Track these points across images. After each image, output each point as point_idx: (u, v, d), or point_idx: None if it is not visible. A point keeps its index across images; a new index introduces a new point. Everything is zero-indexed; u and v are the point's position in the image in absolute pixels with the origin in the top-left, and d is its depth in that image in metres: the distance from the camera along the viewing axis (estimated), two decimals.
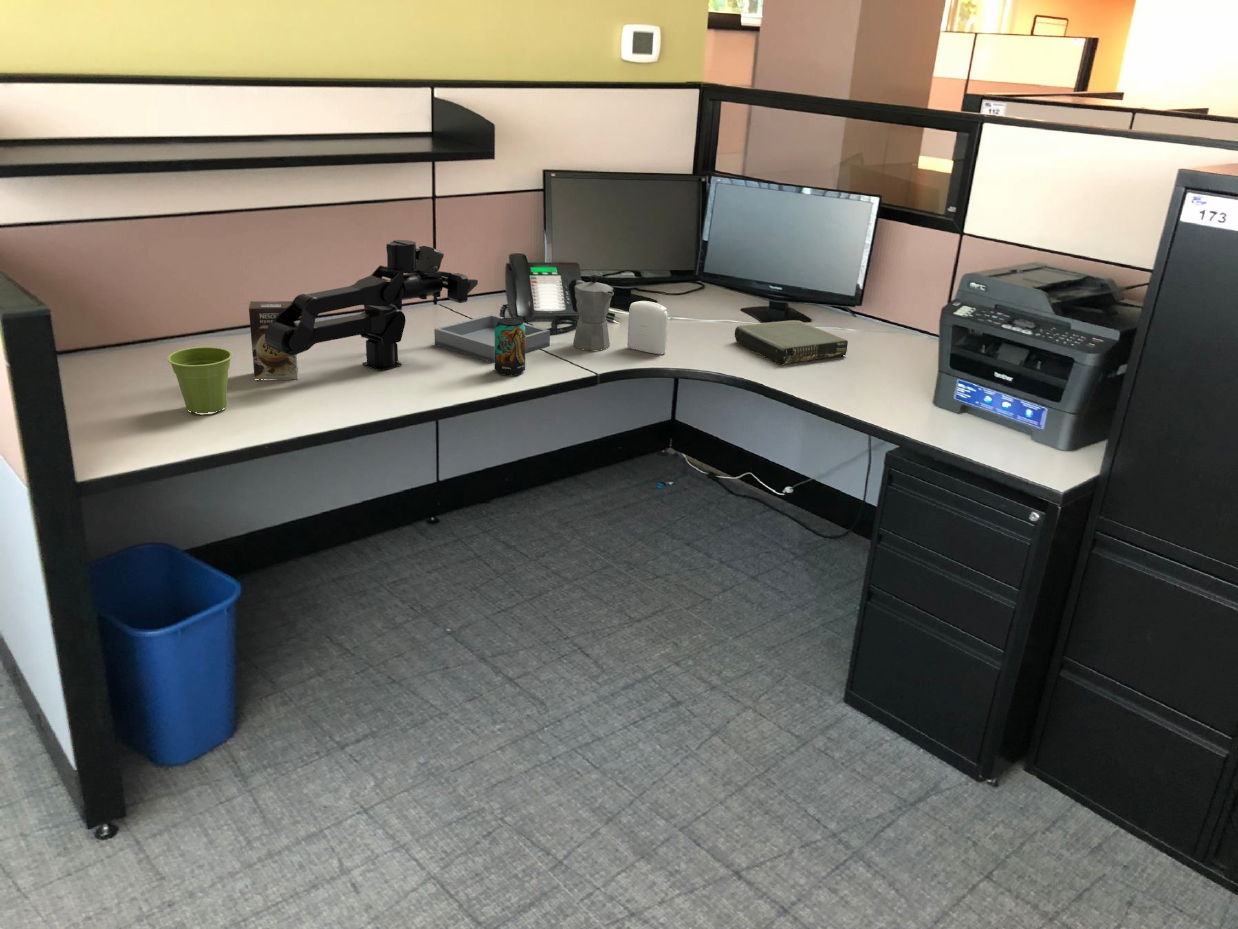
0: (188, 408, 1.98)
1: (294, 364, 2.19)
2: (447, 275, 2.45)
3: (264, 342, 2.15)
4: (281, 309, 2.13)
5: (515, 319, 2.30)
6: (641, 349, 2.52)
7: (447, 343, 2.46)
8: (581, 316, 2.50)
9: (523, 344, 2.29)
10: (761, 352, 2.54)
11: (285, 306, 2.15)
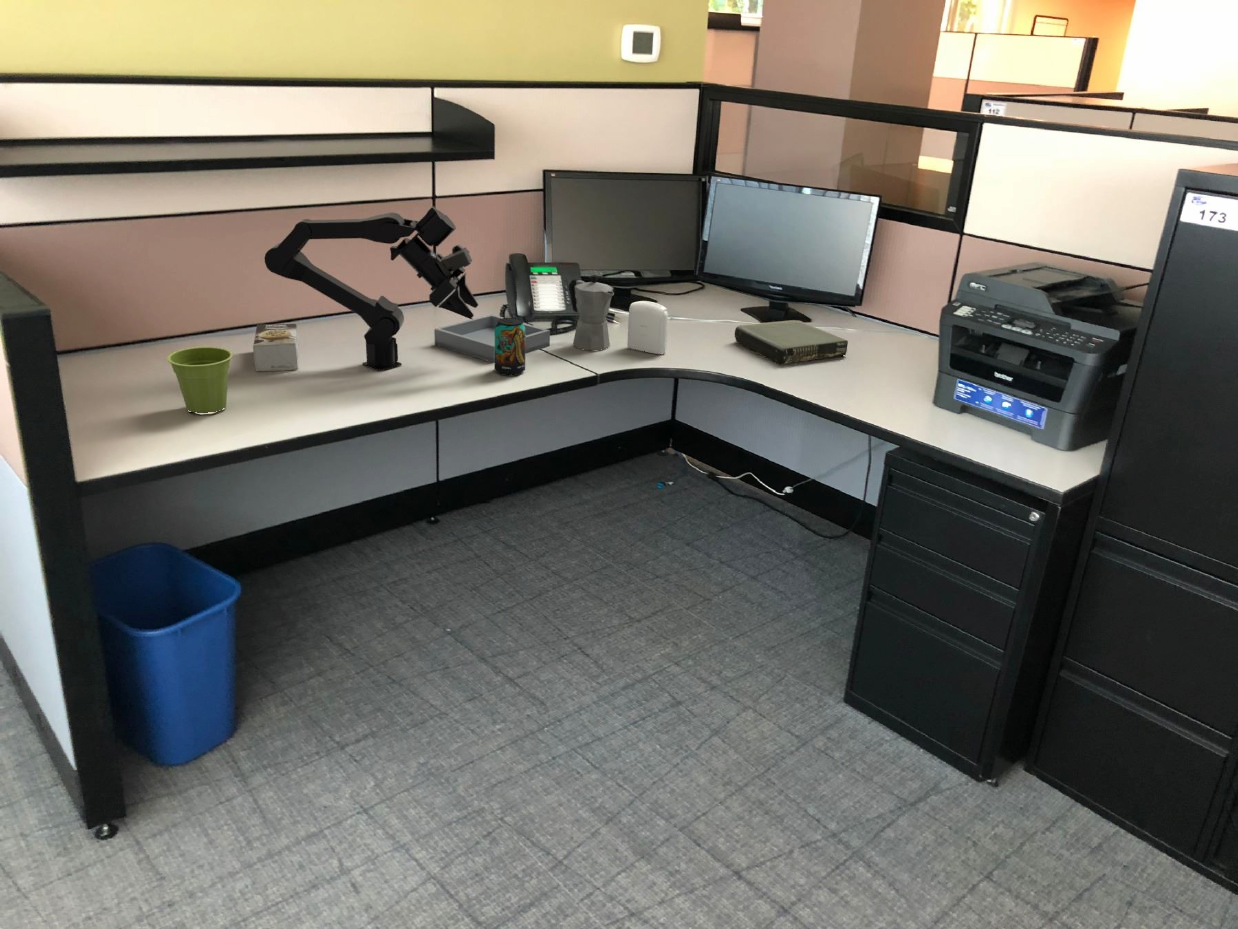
0: (188, 408, 1.98)
1: (293, 338, 2.26)
2: (472, 302, 2.31)
3: (267, 332, 2.29)
4: (286, 324, 2.36)
5: (515, 319, 2.30)
6: (641, 349, 2.52)
7: (447, 343, 2.46)
8: (581, 316, 2.50)
9: (523, 344, 2.29)
10: (761, 352, 2.54)
11: None
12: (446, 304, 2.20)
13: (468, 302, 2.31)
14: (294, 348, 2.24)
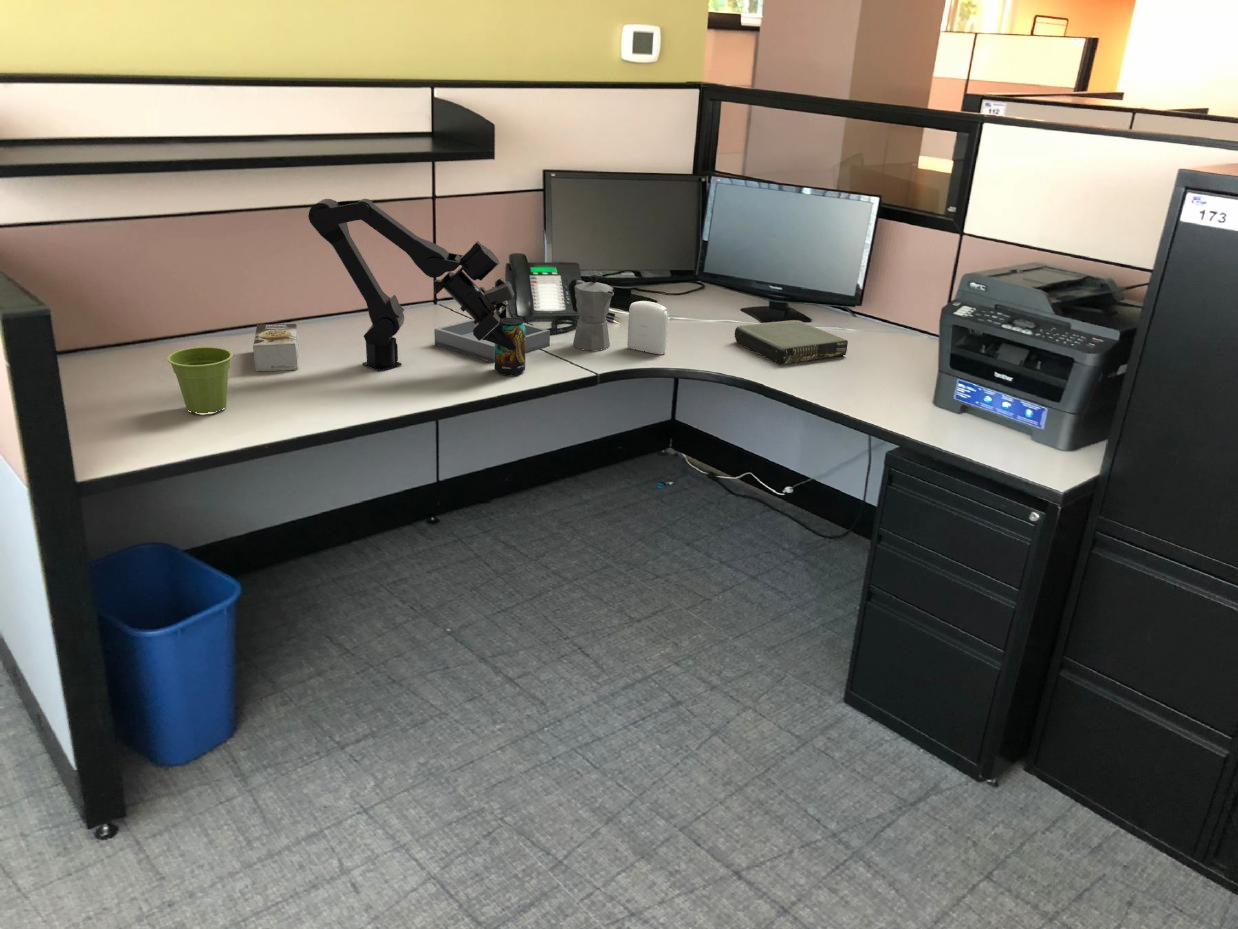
0: (188, 408, 1.98)
1: (293, 338, 2.26)
2: None
3: (267, 332, 2.29)
4: (286, 324, 2.36)
5: (515, 319, 2.30)
6: (641, 349, 2.52)
7: (447, 343, 2.46)
8: (581, 316, 2.50)
9: (523, 344, 2.29)
10: (761, 352, 2.54)
11: None
12: (490, 336, 2.24)
13: None
14: (294, 348, 2.24)
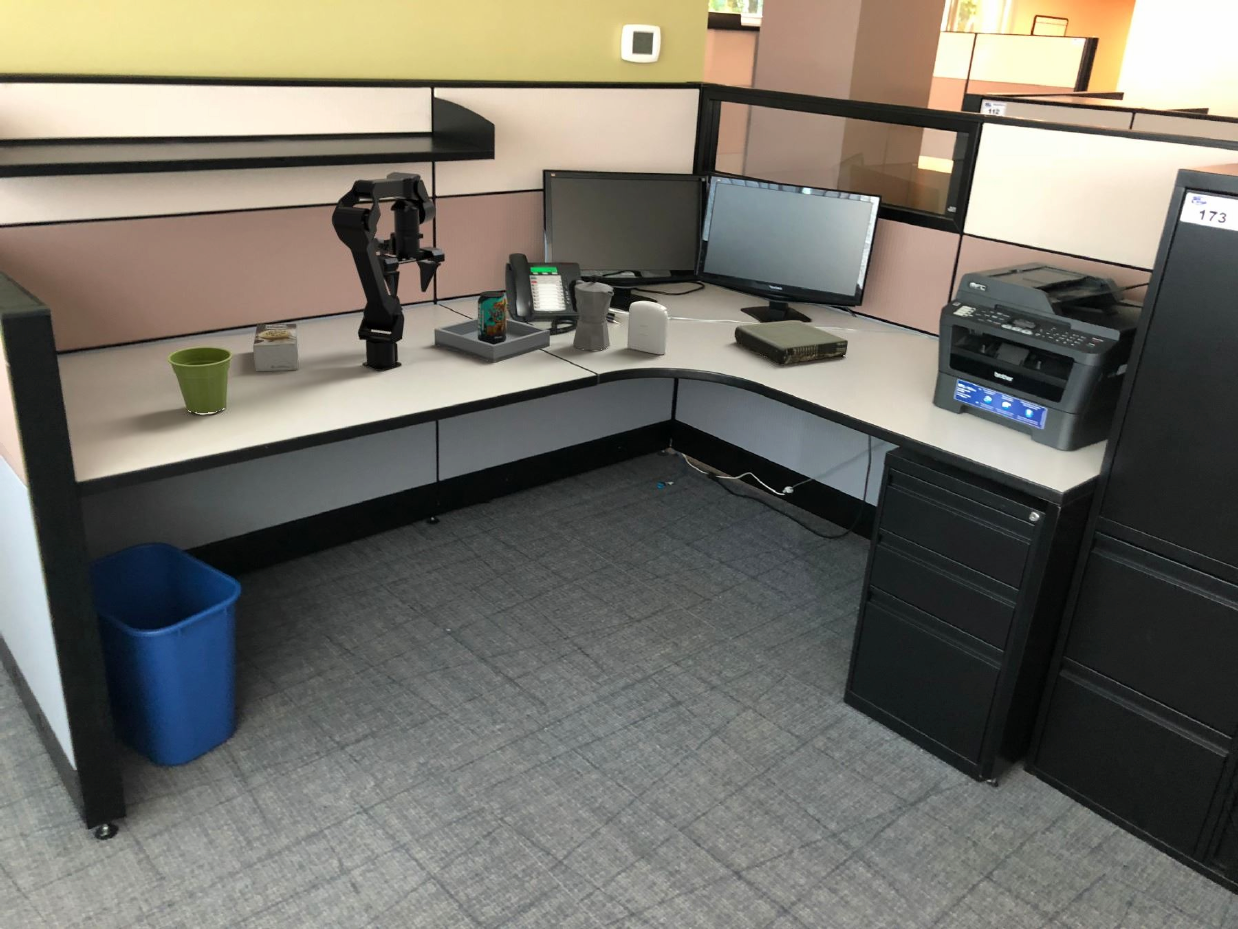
0: (188, 408, 1.98)
1: (293, 338, 2.26)
2: None
3: (267, 332, 2.29)
4: (286, 324, 2.36)
5: (491, 292, 2.47)
6: (641, 349, 2.52)
7: (447, 343, 2.46)
8: (581, 316, 2.50)
9: None
10: (761, 352, 2.54)
11: None
12: None
13: None
14: (294, 348, 2.24)
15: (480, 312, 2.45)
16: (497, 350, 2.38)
